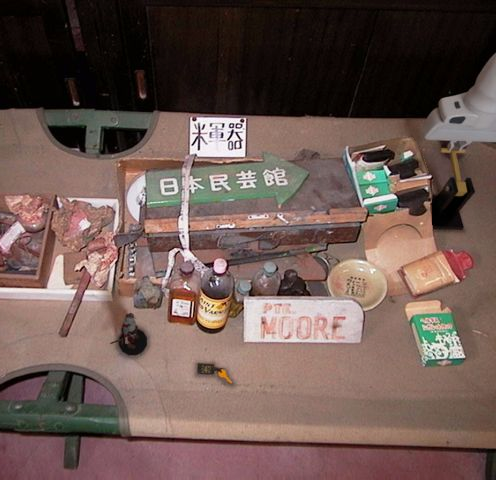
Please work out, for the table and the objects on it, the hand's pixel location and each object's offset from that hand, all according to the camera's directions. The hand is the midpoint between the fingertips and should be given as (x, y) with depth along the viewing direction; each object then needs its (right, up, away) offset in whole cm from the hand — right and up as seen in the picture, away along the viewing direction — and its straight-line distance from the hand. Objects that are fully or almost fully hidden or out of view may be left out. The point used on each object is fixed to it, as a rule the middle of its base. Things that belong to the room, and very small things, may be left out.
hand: (453, 148), depth 134 cm
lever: (0, -6, -1) cm, 6 cm away
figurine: (-81, -47, -12) cm, 94 cm away
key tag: (-62, -53, -16) cm, 84 cm away
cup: (+9, +2, +17) cm, 19 cm away
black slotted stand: (0, -16, +6) cm, 17 cm away
